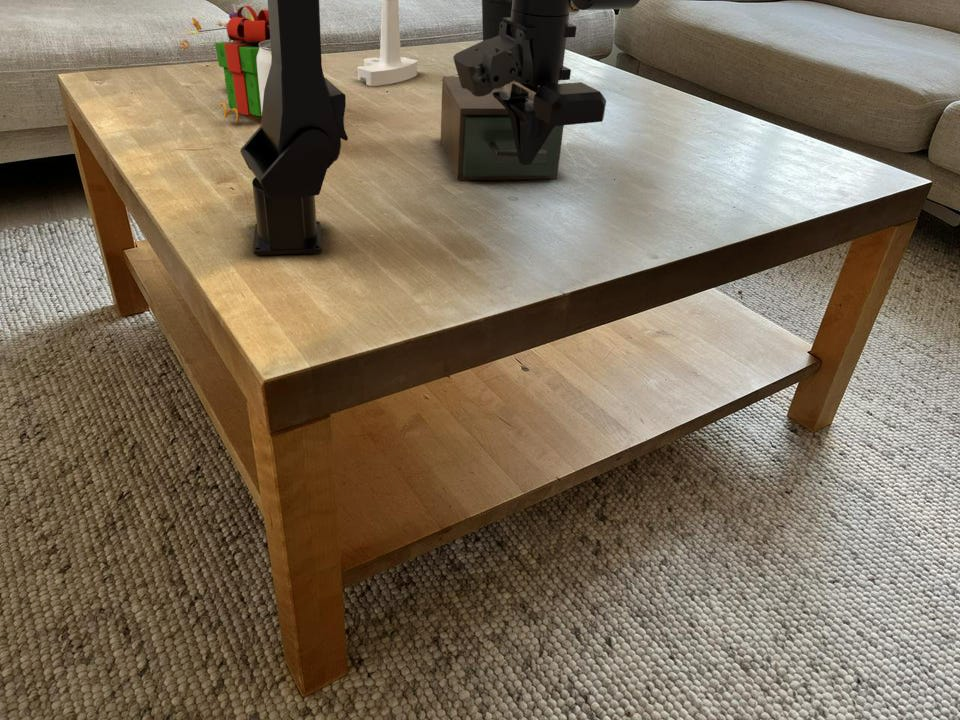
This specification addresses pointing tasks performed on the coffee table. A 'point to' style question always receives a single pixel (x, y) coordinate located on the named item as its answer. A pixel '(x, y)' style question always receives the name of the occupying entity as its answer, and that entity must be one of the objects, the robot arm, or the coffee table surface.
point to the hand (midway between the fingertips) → (524, 164)
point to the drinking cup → (494, 16)
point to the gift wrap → (242, 61)
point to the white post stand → (388, 52)
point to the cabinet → (453, 125)
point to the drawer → (503, 150)
